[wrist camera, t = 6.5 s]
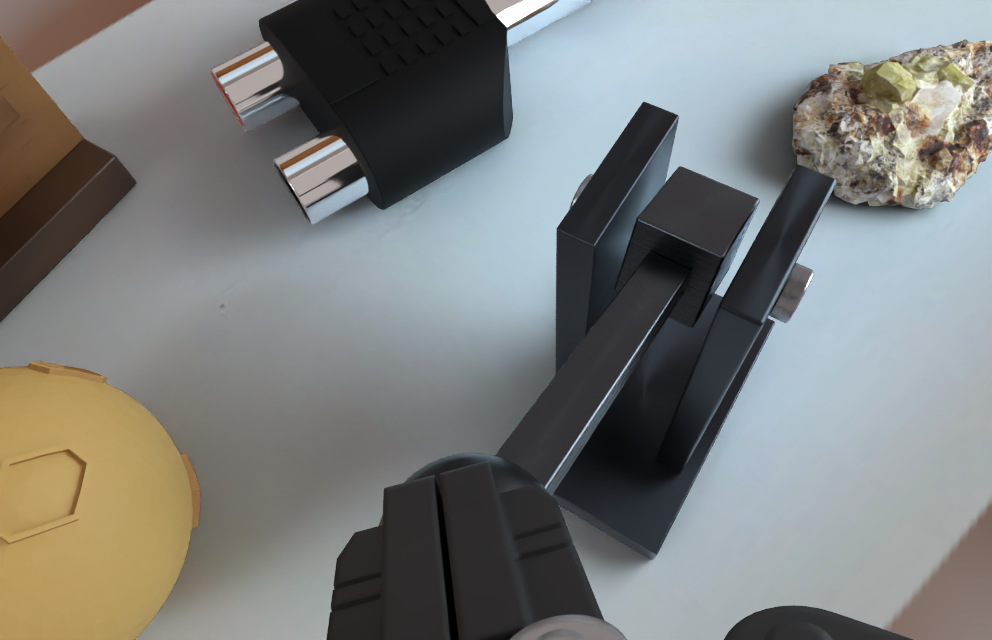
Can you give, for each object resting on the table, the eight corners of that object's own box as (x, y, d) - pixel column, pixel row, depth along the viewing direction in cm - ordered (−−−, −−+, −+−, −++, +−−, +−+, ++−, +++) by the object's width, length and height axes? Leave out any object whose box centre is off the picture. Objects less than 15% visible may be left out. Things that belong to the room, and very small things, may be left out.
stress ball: (254, 655, 26) (95, 629, 17) (-38, 747, 25) (-367, 771, 16) (221, 393, 30) (82, 262, 21) (-27, 465, 29) (-278, 361, 20)
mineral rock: (891, 229, 29) (781, 58, 30) (832, 265, 33) (737, 113, 34) (1098, 123, 31) (986, -33, 32) (1017, 169, 35) (921, 30, 36)
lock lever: (492, 724, 12) (519, 651, 10) (337, 615, 13) (329, 523, 11) (740, 288, 21) (786, 193, 18) (634, 240, 21) (666, 143, 19)
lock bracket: (652, 560, 26) (729, 448, 15) (504, 473, 28) (471, 313, 16) (767, 335, 30) (901, 104, 18) (630, 270, 31) (674, 23, 20)
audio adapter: (182, 24, 32) (641, -200, 37) (229, 112, 37) (631, -98, 42) (298, 191, 28) (802, -91, 33) (335, 266, 32) (770, 10, 38)
